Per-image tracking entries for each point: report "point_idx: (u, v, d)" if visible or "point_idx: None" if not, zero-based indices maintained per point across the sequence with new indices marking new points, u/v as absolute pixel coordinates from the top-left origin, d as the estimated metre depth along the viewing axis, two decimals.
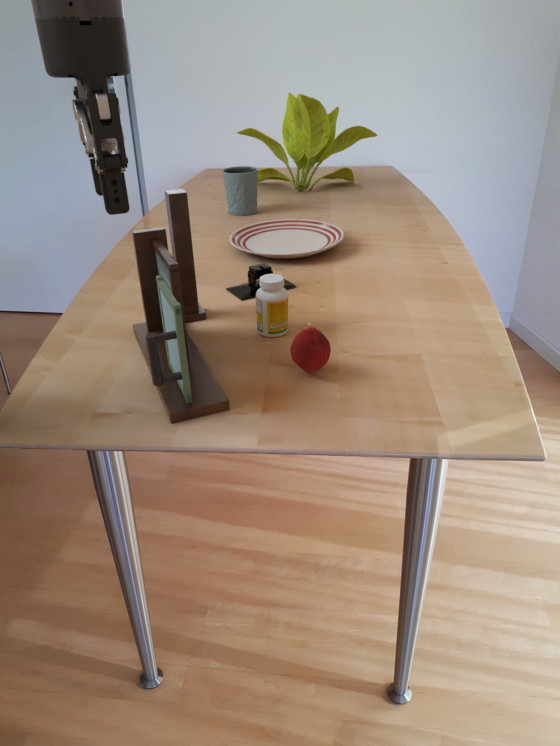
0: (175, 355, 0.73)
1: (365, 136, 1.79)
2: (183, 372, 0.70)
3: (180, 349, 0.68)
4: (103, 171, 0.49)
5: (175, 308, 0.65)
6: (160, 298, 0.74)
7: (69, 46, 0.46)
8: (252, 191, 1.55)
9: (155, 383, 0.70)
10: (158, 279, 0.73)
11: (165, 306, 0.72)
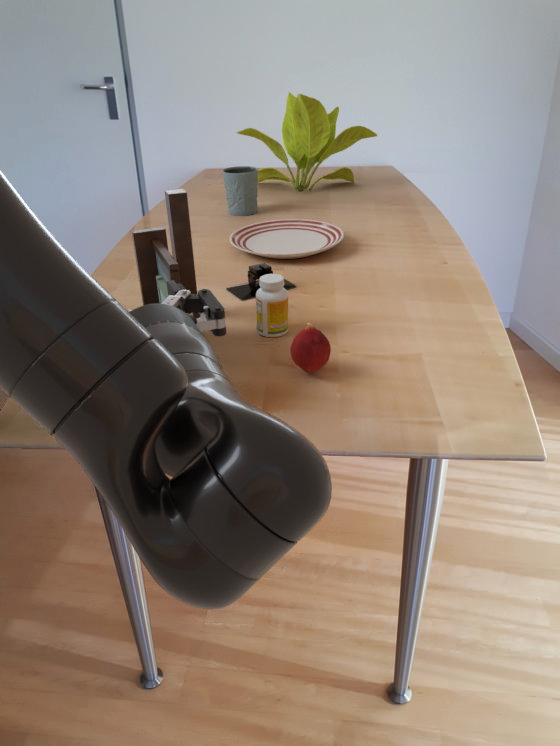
0: None
1: (365, 136, 1.79)
2: None
3: None
4: None
5: None
6: (160, 298, 0.74)
7: None
8: (252, 191, 1.55)
9: None
10: (158, 279, 0.73)
11: None
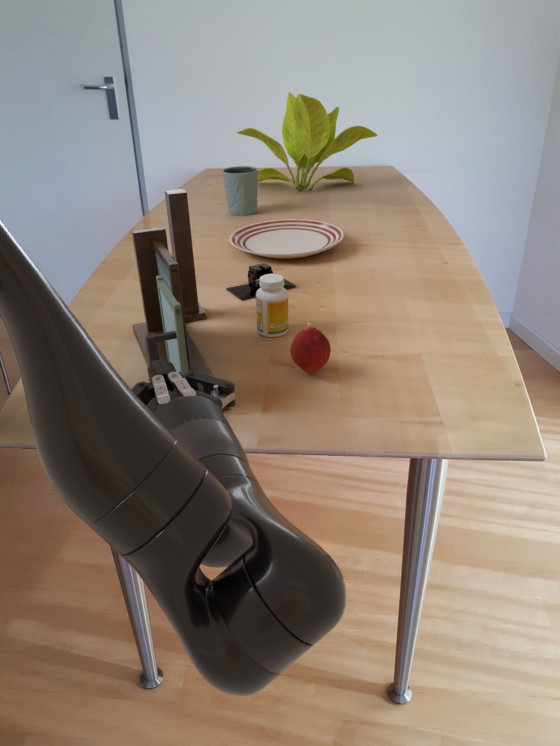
0: (175, 355, 0.73)
1: (365, 136, 1.79)
2: (183, 372, 0.70)
3: (180, 349, 0.68)
4: None
5: (175, 308, 0.65)
6: (160, 298, 0.74)
7: None
8: (252, 191, 1.55)
9: None
10: (158, 279, 0.73)
11: (165, 306, 0.72)
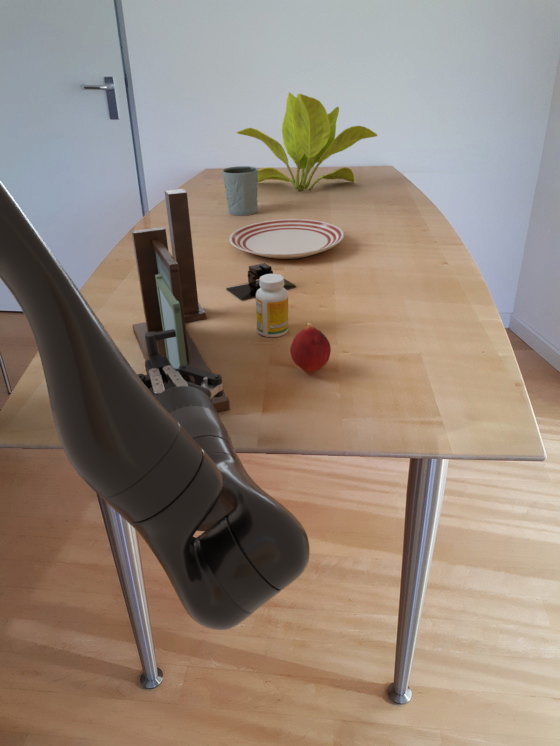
0: (174, 353, 0.73)
1: (365, 136, 1.79)
2: None
3: (179, 347, 0.68)
4: None
5: (174, 306, 0.65)
6: (159, 297, 0.75)
7: None
8: (252, 191, 1.55)
9: None
10: (157, 278, 0.73)
11: (164, 305, 0.72)
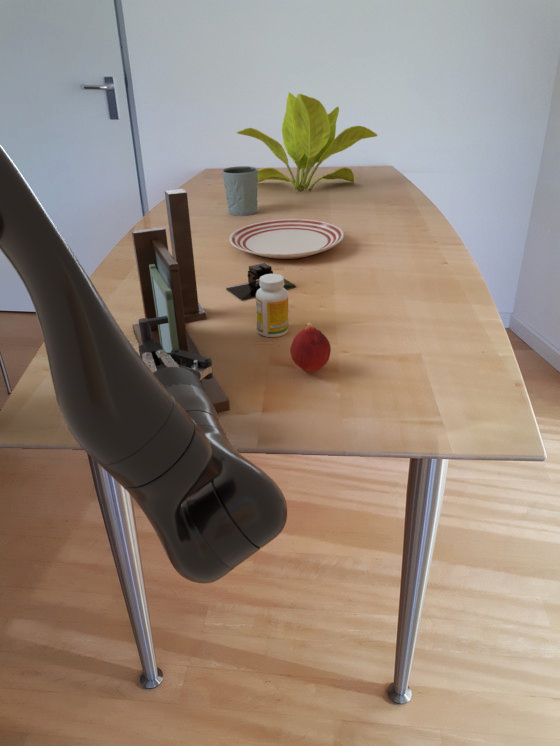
0: (167, 340, 0.77)
1: (365, 136, 1.79)
2: None
3: (171, 333, 0.72)
4: None
5: (166, 294, 0.69)
6: (153, 286, 0.78)
7: None
8: (252, 191, 1.55)
9: None
10: (151, 268, 0.77)
11: (158, 293, 0.76)
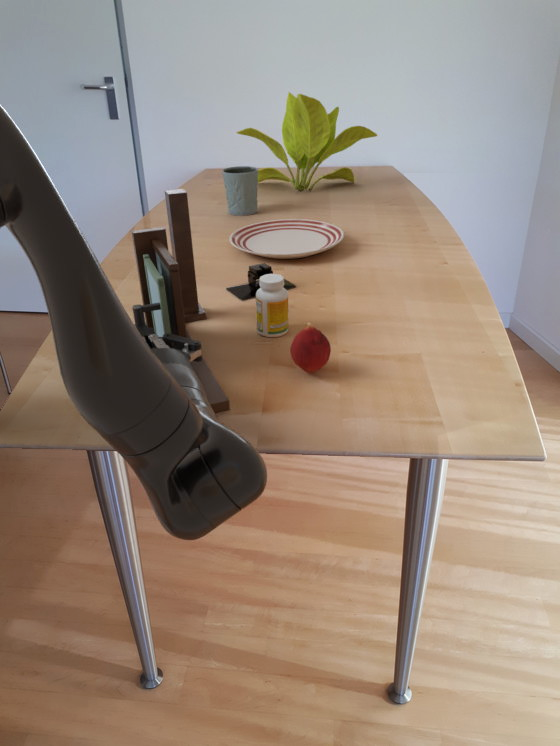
0: (160, 326, 0.81)
1: (365, 136, 1.79)
2: None
3: (164, 319, 0.76)
4: None
5: (159, 281, 0.73)
6: (147, 275, 0.82)
7: None
8: (252, 191, 1.55)
9: None
10: (145, 257, 0.81)
11: (151, 282, 0.80)
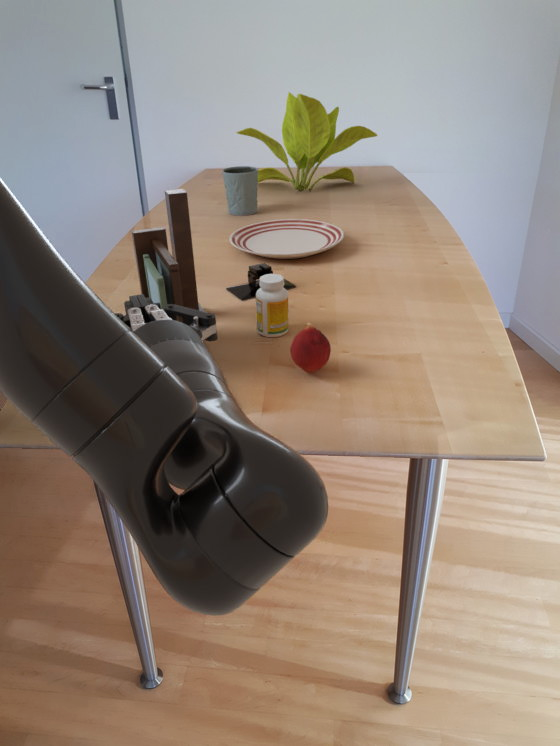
0: None
1: (365, 136, 1.79)
2: None
3: None
4: (129, 313, 0.54)
5: (158, 281, 0.73)
6: (147, 275, 0.82)
7: None
8: (252, 191, 1.55)
9: None
10: (145, 257, 0.81)
11: (151, 281, 0.80)
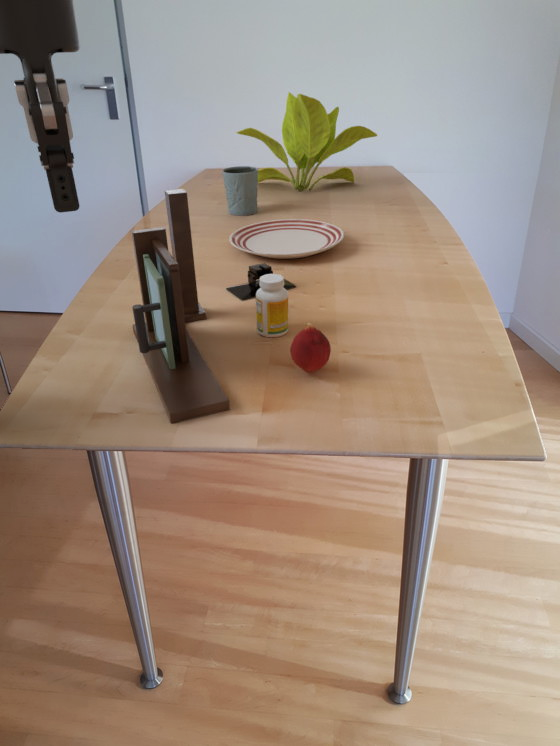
0: (160, 326, 0.81)
1: (365, 136, 1.79)
2: (167, 340, 0.77)
3: (164, 319, 0.76)
4: (49, 167, 0.47)
5: (158, 281, 0.73)
6: (147, 275, 0.82)
7: (3, 16, 0.40)
8: (252, 191, 1.55)
9: (141, 350, 0.78)
10: (145, 257, 0.81)
11: (151, 281, 0.80)
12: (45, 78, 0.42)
